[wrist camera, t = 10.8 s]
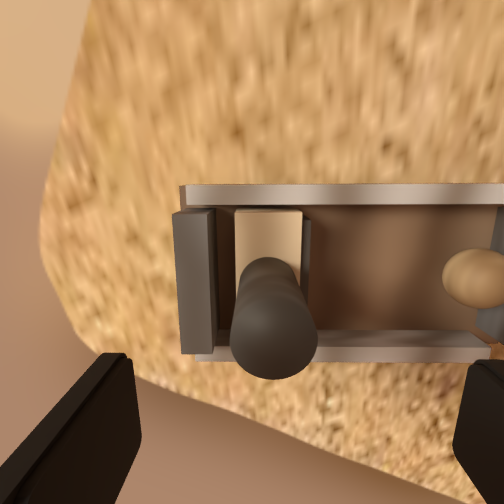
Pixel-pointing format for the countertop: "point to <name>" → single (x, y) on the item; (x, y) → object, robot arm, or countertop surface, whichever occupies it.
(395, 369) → the countertop surface
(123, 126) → the countertop surface
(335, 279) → the base
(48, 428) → the robot arm
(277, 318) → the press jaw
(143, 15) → the countertop surface
